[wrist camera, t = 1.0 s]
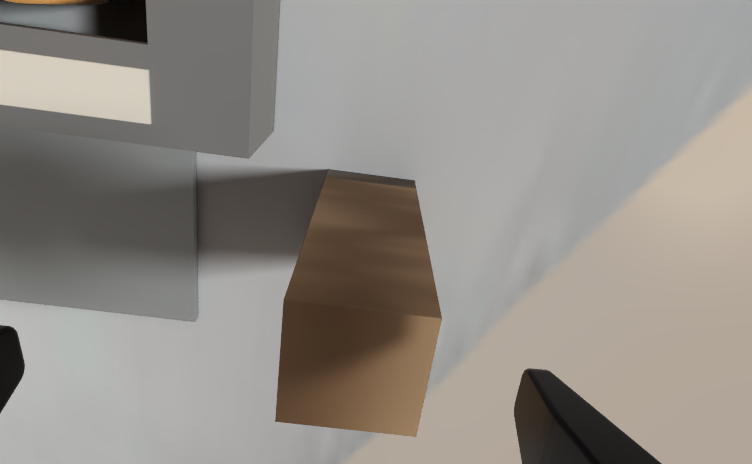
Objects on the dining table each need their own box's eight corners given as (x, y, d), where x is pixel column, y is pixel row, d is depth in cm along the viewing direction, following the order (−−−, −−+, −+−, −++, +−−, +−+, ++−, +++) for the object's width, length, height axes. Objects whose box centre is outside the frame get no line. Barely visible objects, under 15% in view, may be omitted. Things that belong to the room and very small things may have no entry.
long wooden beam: (414, 180, 20) (441, 318, 11) (401, 257, 22) (416, 436, 12) (328, 169, 20) (283, 299, 11) (320, 247, 22) (275, 421, 12)
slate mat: (195, 146, 20) (192, 148, 19) (197, 317, 23) (195, 322, 23) (-66, 111, 19) (-74, 113, 19) (-27, 290, 23) (-34, 295, 22)
